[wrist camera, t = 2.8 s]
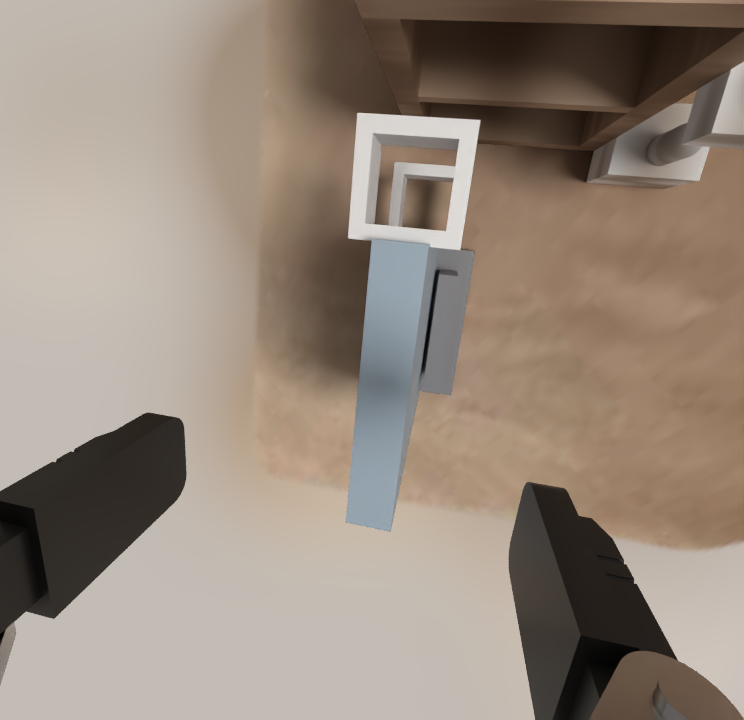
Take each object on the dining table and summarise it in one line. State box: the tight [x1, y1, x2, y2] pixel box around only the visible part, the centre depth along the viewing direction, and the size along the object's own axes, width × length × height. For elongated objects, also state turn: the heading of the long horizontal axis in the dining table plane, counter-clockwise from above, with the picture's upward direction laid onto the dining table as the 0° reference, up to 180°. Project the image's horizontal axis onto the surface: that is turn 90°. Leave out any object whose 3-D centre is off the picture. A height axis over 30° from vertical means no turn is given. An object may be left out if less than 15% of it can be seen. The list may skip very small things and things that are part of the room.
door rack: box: [419, 248, 475, 395], centre depth 30 cm, size 7×11×5 cm, turn 174°
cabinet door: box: [346, 113, 481, 532], centre depth 23 cm, size 4×16×16 cm, turn 174°
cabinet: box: [354, 0, 744, 189], centre depth 18 cm, size 17×11×18 cm, turn 84°
